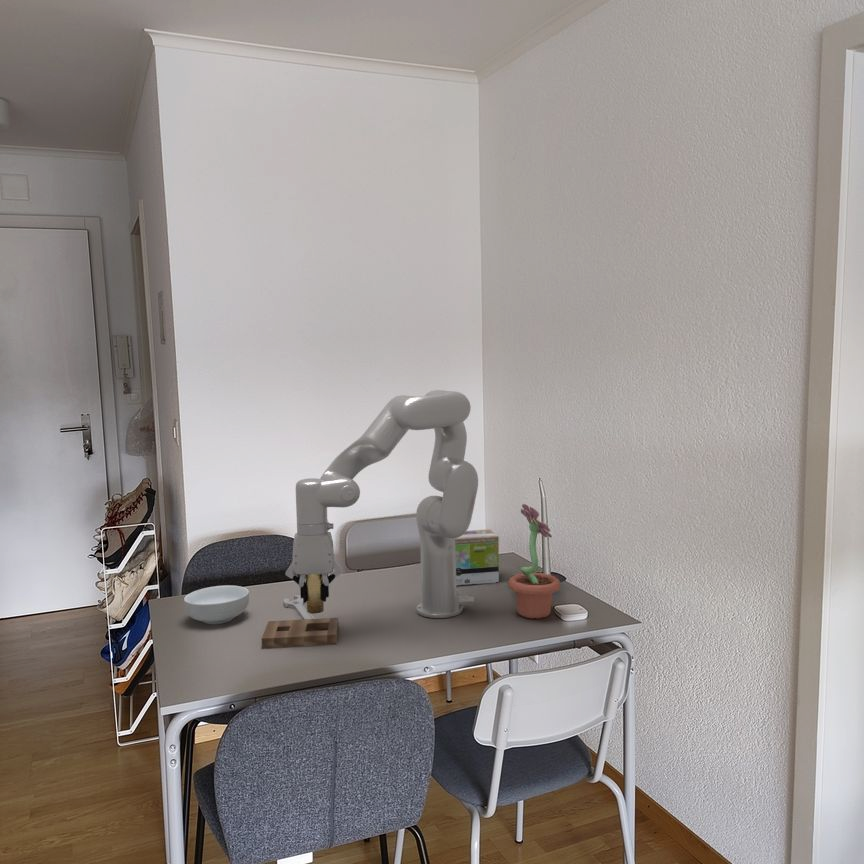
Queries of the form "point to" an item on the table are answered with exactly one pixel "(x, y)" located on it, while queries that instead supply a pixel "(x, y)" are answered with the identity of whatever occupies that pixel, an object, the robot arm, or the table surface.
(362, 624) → the table surface
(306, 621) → the socket board
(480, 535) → the tea box
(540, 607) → the decorative flower
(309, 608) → the brass peg
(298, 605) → the adjustable wrench
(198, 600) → the cereal bowl
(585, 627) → the table surface
